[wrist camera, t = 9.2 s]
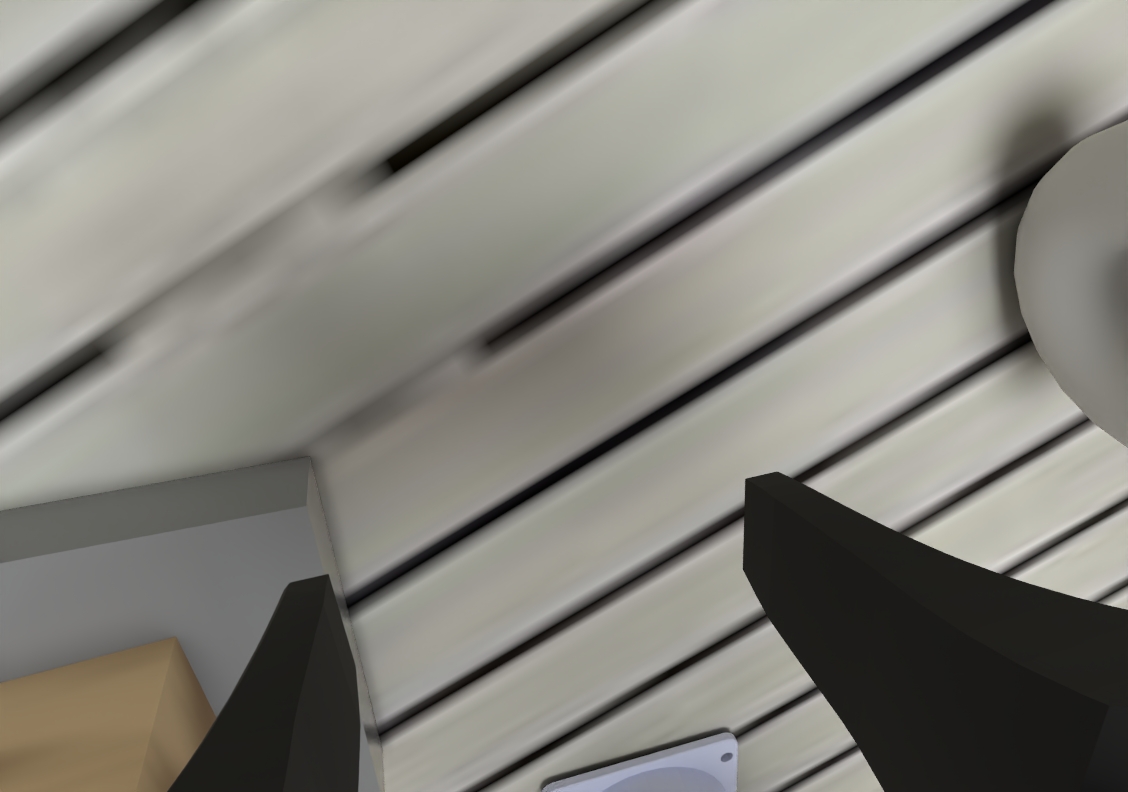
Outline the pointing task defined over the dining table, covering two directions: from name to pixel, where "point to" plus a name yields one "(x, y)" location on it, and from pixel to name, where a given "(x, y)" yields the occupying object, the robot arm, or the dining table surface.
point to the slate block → (170, 577)
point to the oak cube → (103, 723)
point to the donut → (1081, 276)
